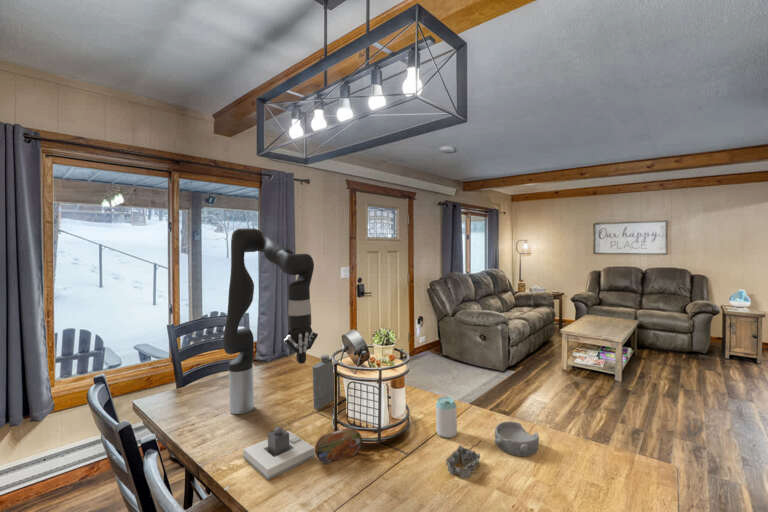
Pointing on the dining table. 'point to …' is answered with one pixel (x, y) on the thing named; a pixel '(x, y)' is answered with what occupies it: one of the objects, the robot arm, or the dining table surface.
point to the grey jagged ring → (463, 462)
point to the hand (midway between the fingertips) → (301, 363)
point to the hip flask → (323, 382)
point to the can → (446, 417)
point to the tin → (338, 445)
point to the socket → (282, 462)
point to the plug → (278, 441)
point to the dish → (515, 439)
